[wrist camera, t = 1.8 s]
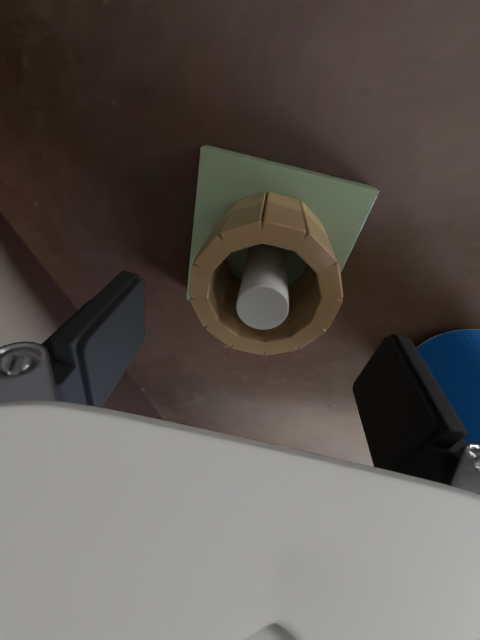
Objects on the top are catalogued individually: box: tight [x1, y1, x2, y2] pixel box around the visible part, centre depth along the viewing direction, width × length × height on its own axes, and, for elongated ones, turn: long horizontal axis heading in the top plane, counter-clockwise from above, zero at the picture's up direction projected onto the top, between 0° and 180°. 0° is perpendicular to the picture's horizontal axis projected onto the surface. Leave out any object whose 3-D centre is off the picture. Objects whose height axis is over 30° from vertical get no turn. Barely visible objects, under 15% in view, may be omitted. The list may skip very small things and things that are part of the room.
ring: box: [189, 192, 343, 355], centre depth 14 cm, size 7×7×5 cm
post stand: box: [186, 145, 379, 330], centre depth 14 cm, size 9×9×7 cm
